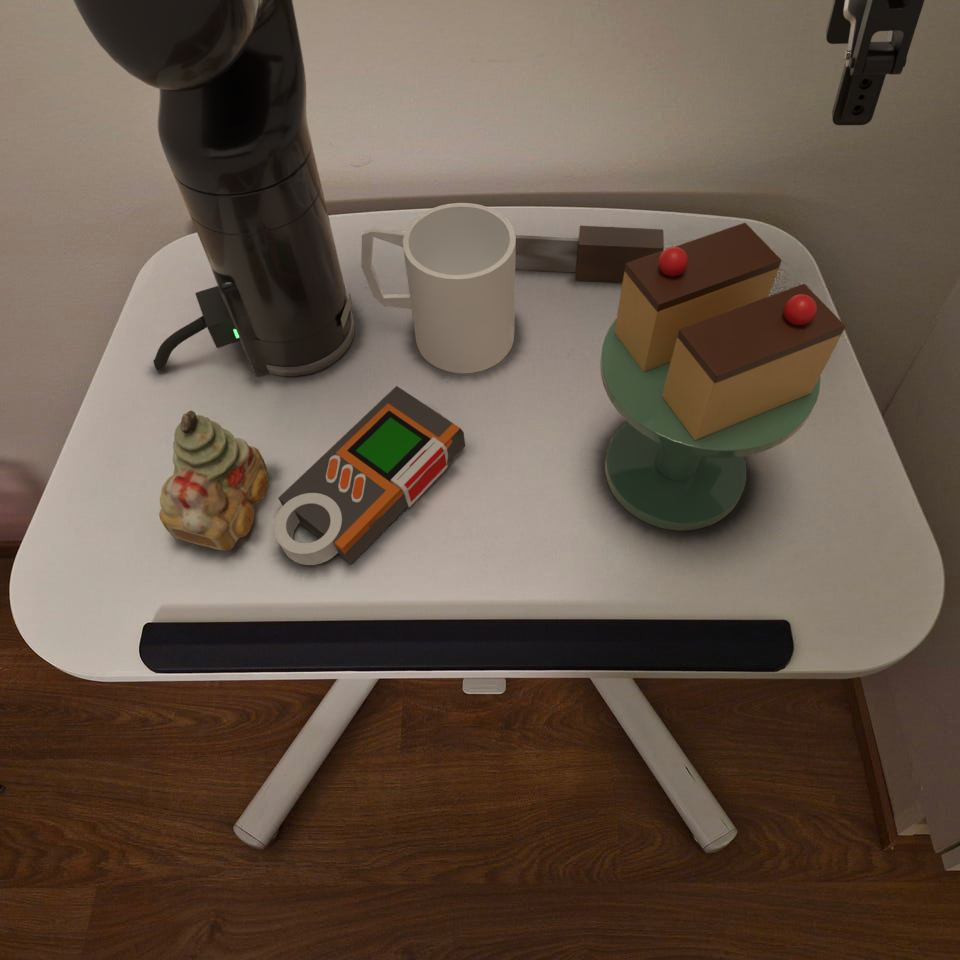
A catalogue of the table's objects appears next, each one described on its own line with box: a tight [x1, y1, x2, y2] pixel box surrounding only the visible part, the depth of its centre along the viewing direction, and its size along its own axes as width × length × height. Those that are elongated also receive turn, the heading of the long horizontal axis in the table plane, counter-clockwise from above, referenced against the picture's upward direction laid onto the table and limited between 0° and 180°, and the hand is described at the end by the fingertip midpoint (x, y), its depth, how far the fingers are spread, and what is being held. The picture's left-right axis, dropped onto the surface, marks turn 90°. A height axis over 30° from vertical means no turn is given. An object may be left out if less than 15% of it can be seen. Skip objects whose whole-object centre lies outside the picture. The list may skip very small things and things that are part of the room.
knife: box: [515, 225, 665, 284], centre depth 67 cm, size 15×2×4 cm, turn 84°
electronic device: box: [273, 385, 466, 566], centre depth 56 cm, size 7×3×15 cm
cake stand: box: [599, 317, 822, 531], centre depth 52 cm, size 13×13×12 cm
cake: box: [614, 222, 846, 440], centre depth 44 cm, size 8×9×7 cm
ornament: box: [158, 410, 270, 552], centre depth 52 cm, size 8×6×10 cm
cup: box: [360, 202, 516, 374], centre depth 61 cm, size 8×12×10 cm
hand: (846, 79), depth 49 cm, fingers open, 8 cm apart
